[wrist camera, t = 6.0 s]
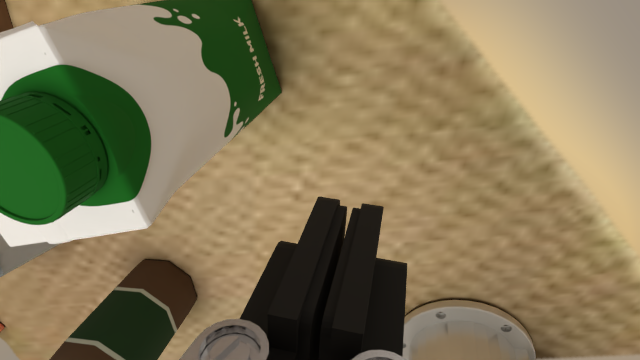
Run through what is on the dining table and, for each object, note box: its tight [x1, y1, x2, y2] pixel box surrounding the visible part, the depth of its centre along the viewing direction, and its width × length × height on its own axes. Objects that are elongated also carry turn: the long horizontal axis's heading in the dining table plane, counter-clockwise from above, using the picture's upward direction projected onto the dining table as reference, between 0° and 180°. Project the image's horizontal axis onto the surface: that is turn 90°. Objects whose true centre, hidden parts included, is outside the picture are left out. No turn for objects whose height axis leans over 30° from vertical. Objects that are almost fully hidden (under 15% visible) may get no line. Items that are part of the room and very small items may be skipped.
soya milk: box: [0, 0, 282, 247], centre depth 22 cm, size 9×9×20 cm
